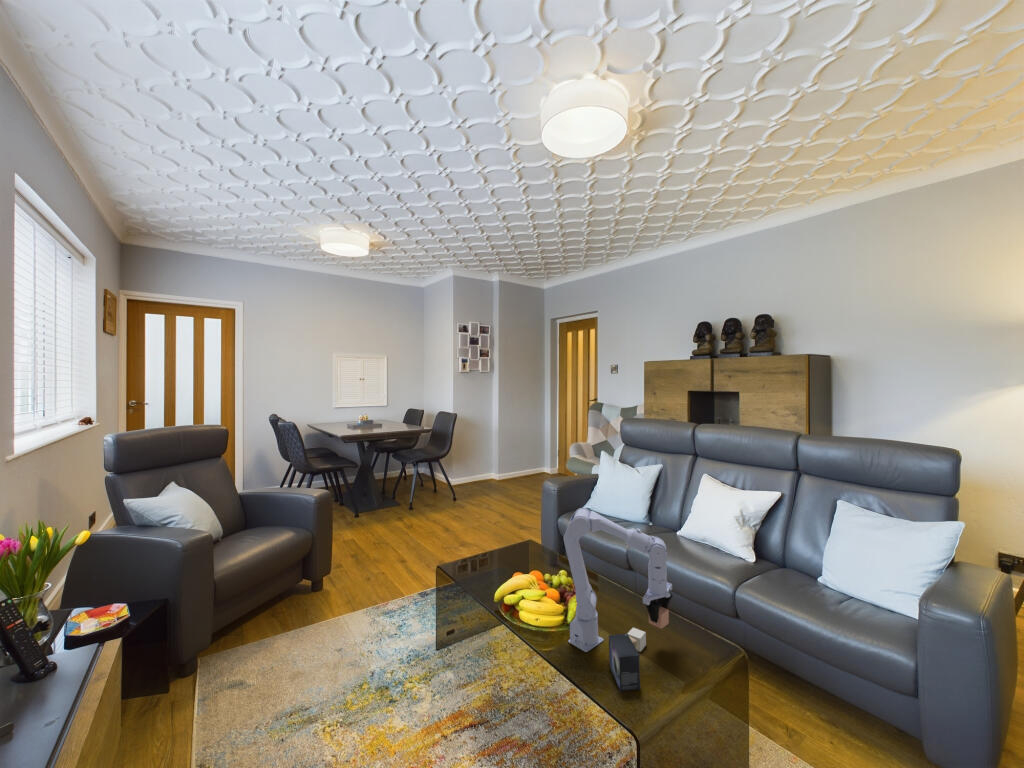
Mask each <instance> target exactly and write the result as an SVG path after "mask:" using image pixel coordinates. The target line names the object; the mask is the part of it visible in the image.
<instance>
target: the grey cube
mask: <svg viewBox="0 0 1024 768" xmlns="http://www.w3.org/2000/svg"><path fill="white" fill-rule="evenodd" d="M626 634H628V635H629V636H630V637H632V638H633V639H635V640H636V641H637V651H638V653H639V652H640V653H641V652H642V651H643V650H644V649H645V647H646V645H647V637H646V636H647V634H646V631H643V630H641V629H638V628H636V627H632V628H631V629H630V630H628V632H627V633H626Z"/></svg>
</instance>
